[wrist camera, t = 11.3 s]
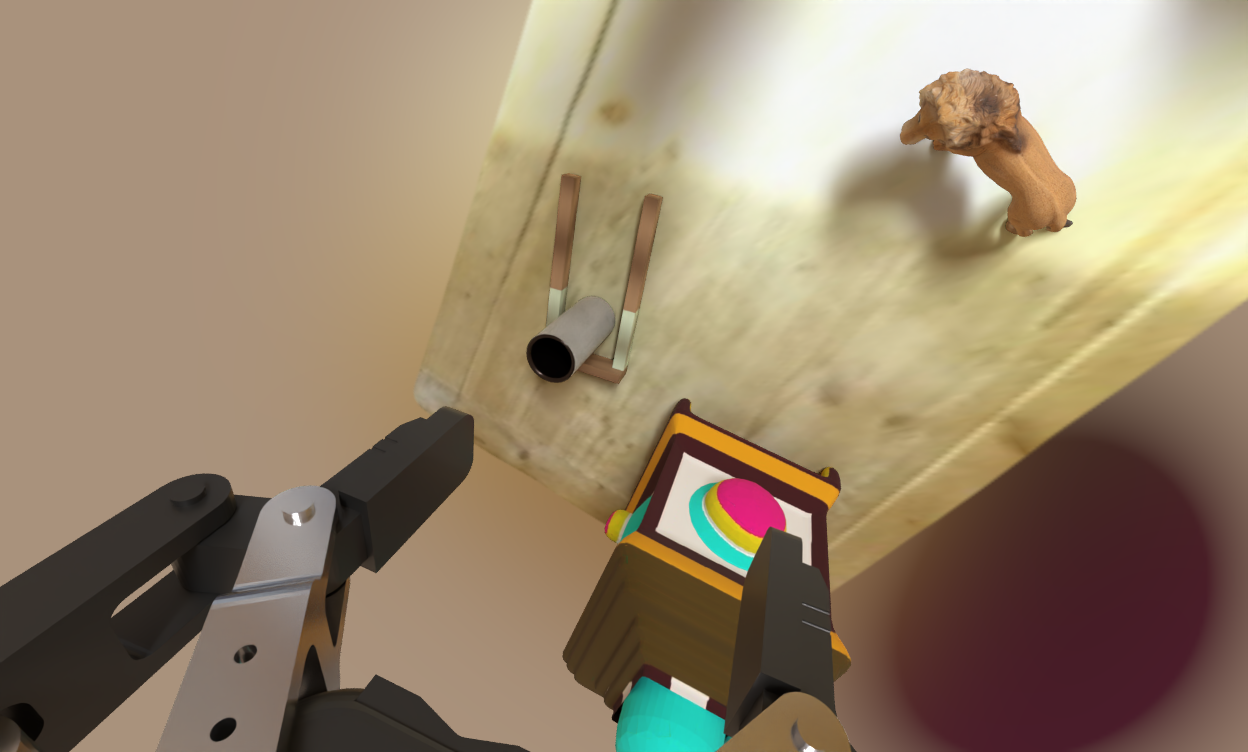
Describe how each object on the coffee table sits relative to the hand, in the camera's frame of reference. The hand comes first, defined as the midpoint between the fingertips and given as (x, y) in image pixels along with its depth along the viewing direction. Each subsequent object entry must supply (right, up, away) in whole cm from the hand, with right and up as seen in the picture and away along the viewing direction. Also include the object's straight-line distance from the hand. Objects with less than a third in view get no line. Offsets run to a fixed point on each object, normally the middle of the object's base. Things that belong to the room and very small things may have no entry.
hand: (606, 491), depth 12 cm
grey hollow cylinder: (-2, +9, +37) cm, 38 cm away
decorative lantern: (+12, -9, +42) cm, 44 cm away
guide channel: (-2, +12, +35) cm, 37 cm away
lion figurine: (+25, +18, +22) cm, 38 cm away
